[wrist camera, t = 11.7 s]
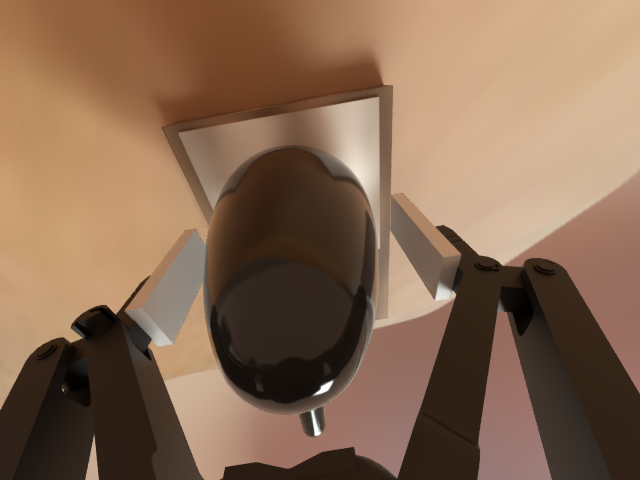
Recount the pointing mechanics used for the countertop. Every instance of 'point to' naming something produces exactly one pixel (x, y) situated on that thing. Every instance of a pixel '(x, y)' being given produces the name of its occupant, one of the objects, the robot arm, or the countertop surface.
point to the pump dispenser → (291, 281)
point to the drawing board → (298, 129)
